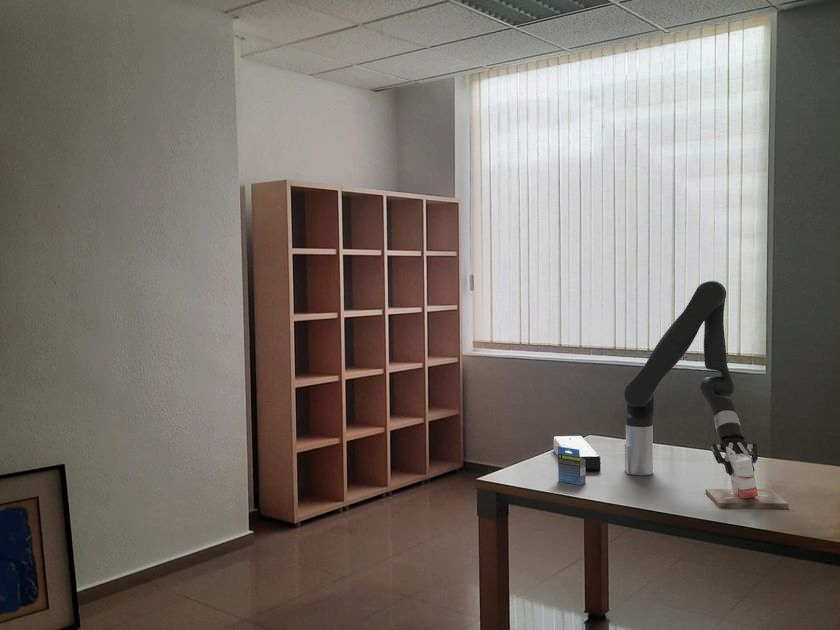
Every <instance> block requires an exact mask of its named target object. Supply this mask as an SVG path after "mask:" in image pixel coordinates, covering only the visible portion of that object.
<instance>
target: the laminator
mask: <svg viewBox="0 0 840 630" xmlns="http://www.w3.org/2000/svg"><path fill="white" fill-rule="evenodd" d="M558 446H559V447H565V448H572V449H578V450H579V453H580V457H581V458H583V459H585V473H599V472H600V473H601V464H602V462H601V455H599V454H598V452H596V451H595V449H594V448H593V447H591V445H590V444H589V443H588V441H586V439H584V438H583V436H582V435H562V436H561V435H560V436H557V435H556V436H553V451H554V453H555V455H556V456H557V457H558ZM565 452H566V453H572V452H570V451H569V450H568V451H565Z"/></svg>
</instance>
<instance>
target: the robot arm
mask: <svg viewBox="0 0 840 630" xmlns="http://www.w3.org/2000/svg"><path fill="white" fill-rule="evenodd" d="M726 298H727V290H726V287H725V286H724V285H723V284H722V283H721V282H719V281H716V280H706V281H705V280H704V281H703V282H701V283H700V284H699V285H698V286H697V287H696V289H695V291H694V293H693V295H692V297H691V298H690V300H689V302H688V303H687V306H686V307H685V308H684V309H683V311H682V313H681V314H680V315H679V316H678V317H677V318H676V319H675V320H674V321H673V323H672V324H671V325H670V326H669V328H668V329H667V330H666V331H665V332H664V334H663V335H662V337H661V338H660V339H659V341H658V342H657V344H656V345H655V347H654V348H653V350H652V352H651V354H650V355H649V358H648V359H647V361H646V363H645V364H644V365H643V368H642V369H641V370H640V371H639V372H638V373H637V375H636V376H635V377H633V379H632V380H631V381H630V382H629V383H627V385H626V386H625V388H624V391H623V392H624V393H623V395H624V400H625V402H626V414H625V443H624V471H625V472H626V474H627V475H633V476H650V475H652V474H654V455H653V454H654V450H653V449H654V440H653V433H654V432H653V431H654V430H653V428H654V427H653V426H654V425H653V422H654V421H653V420H654V414H655V413H654V403H655V402H654V401H655V400H654V399H655V395H654V394H655V393H654V392H655V390H656V388H657V387H658V386H659V384H660V383H661V381H662V380H663V378H665V376H666V375H667V374H668V373H669V372H670V371H671V370H672V369H673V368H674V367H675V365H677V363H679V361H680V360H682V358H683V356H684V355H685V353H687V351H688V349H689V348H690V346H691V345H692V344H693V342H694V341H695V338H696V336H697V334H698V332H699V330H700V328H701V327H702V325H704V327H703V329H704V331H703V360H704V366H705V368H706V369H707V370H710V371H716V372H718V373H719V374H720V376H707V377H703V378H702V379H701V381H700V385H699V389H700V392H701V394H702V396H703V397H704V399H705V400H706V402H707V403H708V405H709V407H710V408H711V412H712V416H713V419H714V428H715V430H716V434H717V438H718V441H719V444H717V443H712V446H711V453H712V455H713V457H714V459H715V460H716V463H717V464H719V465H720V464H722V465H723V466H724V468H725V472H726V474H728V476H730V475H732V473H733V471H732V467H731V463H730V462H729V457H728V453H726V447H728V448H730V449H731V450H733V451H734V452H735V453H736V454H744V455H745V456H747V457H748V458H750V459H751V460H752V466H753V472H755V467H754V464H756V463H757V461H758V458H759V455H758V454H759V453H758V445H757V443H755V442H754V443H752V444H749V443H747V442H746V440H745V437H744V433H743V429H742V426H741V425H742V424H741V422H740V419H739V417H738V414H737V412H736V409H735V405H734V402H733V401H732V400H731V399H730V398H729V397H731V396H733V394H734V392H735V384H734V381H733V379H732V377H731V373H730V370H729V366H728V362H727V361H728V360H727V348H726V347H727V346H726V337H725V335H726V334H725V324H724V323H725V322H724V321H725V319H724V317H725V315H724V313H725V305H726V304H725V303H726ZM703 323H704V324H703ZM747 449H748V450H749V451H748V450H747ZM720 450H721V451H723V452H724V453H725V455H724V457H723V456H722V453H721V452H720ZM749 452H750V454H751V455H749ZM730 454H731V455H732V453H731V452H730Z"/></svg>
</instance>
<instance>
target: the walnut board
mask: <svg viewBox="0 0 840 630" xmlns="http://www.w3.org/2000/svg"><path fill="white" fill-rule="evenodd" d="M757 493H758V496H755V497H750V498H744V499H743V498H742V497H740V496H739V495H738V494H736V493H735V492H733V488H706V489H705V495H706V496H707V497H708V498H710V500H711V501H712V502H713V503H714V504H715V506H716V507H718V509H789V502H787V501H786V500H784V498H782V497H781V496H780V495H778V494H777V493H776V492H775V491H773V490H772V489H769V488H757Z"/></svg>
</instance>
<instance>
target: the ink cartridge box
mask: <svg viewBox="0 0 840 630" xmlns="http://www.w3.org/2000/svg"><path fill="white" fill-rule="evenodd" d="M730 452H731V453H732V455H731V454H730ZM726 453H728V457H729V462H730V463H731V467H732V471H733V473H732V475H729V476H730V482H731V489H733V492H735V493H736V494H738V495H739V496H740V497H742V498H743V499H744V498H750V497H755V496H758V493H757V489H758V488H757V484H756V483H757V482H756V477H755V473H754V472H755V471H754V472H753V466H754V465H753V466H752V460H751V459H750V458H748V457H747V456H745V455H744V454H736V453H735V452H734V451H733V450H731V449H730V448H728V447H726ZM726 453H725V454H726Z"/></svg>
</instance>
